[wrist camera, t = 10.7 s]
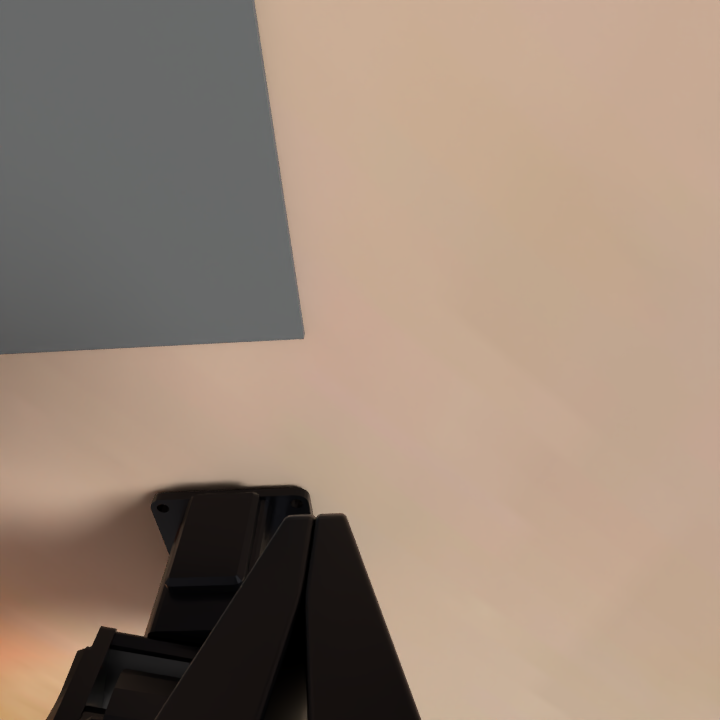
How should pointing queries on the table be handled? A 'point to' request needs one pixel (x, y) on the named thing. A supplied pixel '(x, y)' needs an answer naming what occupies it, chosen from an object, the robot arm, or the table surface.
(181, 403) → the table surface
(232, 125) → the runner mat
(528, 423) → the table surface
